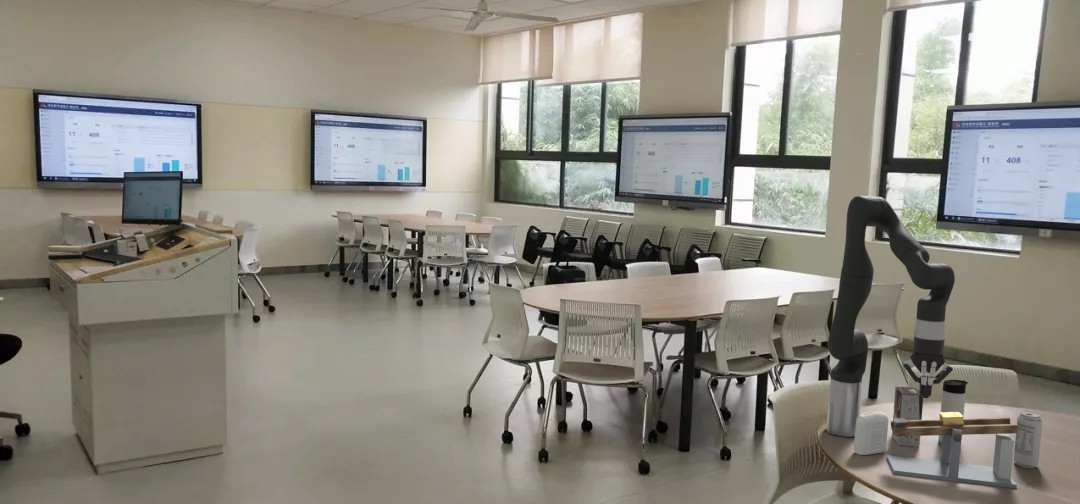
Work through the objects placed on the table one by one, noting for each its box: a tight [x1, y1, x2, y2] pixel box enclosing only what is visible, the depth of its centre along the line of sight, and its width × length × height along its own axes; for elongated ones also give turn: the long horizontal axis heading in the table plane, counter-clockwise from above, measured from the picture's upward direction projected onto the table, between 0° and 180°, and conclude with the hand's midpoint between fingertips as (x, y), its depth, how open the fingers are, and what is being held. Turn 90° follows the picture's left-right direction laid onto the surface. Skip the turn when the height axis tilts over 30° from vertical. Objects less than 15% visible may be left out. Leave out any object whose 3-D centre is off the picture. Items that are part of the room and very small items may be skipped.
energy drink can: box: [1013, 411, 1043, 469], centre depth 221 cm, size 6×6×15 cm
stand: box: [886, 428, 1018, 489], centre depth 214 cm, size 30×13×14 cm, turn 74°
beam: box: [890, 416, 1018, 437], centre depth 213 cm, size 30×7×4 cm, turn 74°
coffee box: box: [891, 386, 924, 448], centre depth 239 cm, size 9×6×16 cm
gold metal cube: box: [938, 411, 964, 426], centre depth 213 cm, size 5×4×4 cm
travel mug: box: [938, 379, 968, 445], centre depth 237 cm, size 6×7×20 cm
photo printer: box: [853, 410, 889, 456], centre depth 229 cm, size 10×4×12 cm, turn 115°
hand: (924, 397), depth 215 cm, fingers closed
